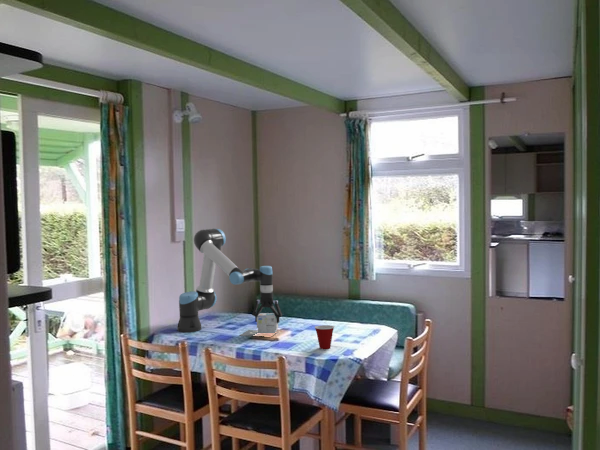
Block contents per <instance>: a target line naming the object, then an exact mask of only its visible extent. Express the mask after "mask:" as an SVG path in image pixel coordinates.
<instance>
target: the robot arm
mask: <svg viewBox="0 0 600 450" xmlns="http://www.w3.org/2000/svg"><path fill="white" fill-rule="evenodd" d="M226 240H227V239H226V233H225V232H224V231H223V230H222V229H220V228H207V229H200V230H198V231H196V232H195V235H194V236H193V243H194V246H195V247H196V249H197V250H198V251H199V252H200V253H201V254H203V259H202V266H201V272H200V280H199V285H198V286H197V287H196V290H195V291H193V290H191V291H185V292H182V293H181V294H180V295H179V297H178V306H179V307H178V308H179V319H178V323H177V326H176V328H177V332H180V333H193V332H198V331H201V330H202V323H201V321H200V318H199V312H200V311H203V310H204V311H205V310H208V309H211V308H213V307H214V306H215V305H216V302H217V300H218V298H217V297H218V296H217V295H216V292H215V289H214V281H215V273H216V266H218V267H219V268H220V269H221V270H222V271H223V272H224V273H225V274H226V275H227V276H229V277H228V278H229V282H230V283H231V284H232V285H236V286H237V285H241V284H245V283H250V282H251V283H252V282H259V286H260V287H259V288H260V289H259V290H260V295H259V296H260V299H256V300H255V305H254V308H253V311H252V314H251V315H252V317H253V316H254V317H255V319H254V320H255V323H256V328H257V329H258V315H259V314H260V313H262V311H263V309H264V308H268V309H270V310H271V311H272V313H274V314H275V316H276V318H275V329H277V330H278V328H279V323H280V318H281V317H283V313H282V310H281V308H280V307H281V306H280V304H279V300H278V299H277V300H274V292H273V291H274V286H273V284H274V283H273V278H274V277H273V273H274V272H273V267H272V266H271V265H262V266H259V269H258V268H252V267H251V268H245V269H244V270H242V269H241V268H239V267H238V266H237V265H236V264H235V262H233V261H232V260H231V259H230V258H229V257H228V256H227V255H225V254H224V252H222V251H221V250H222V249H221V248H222V247H223V246H224V245H225V244H226ZM259 305H260V306H259Z"/></svg>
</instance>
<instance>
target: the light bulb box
mask: <svg viewBox="0 0 600 450" xmlns="http://www.w3.org/2000/svg"><path fill="white" fill-rule="evenodd" d="M275 318H276V316H275V314H274V313H273V312H270V313H269V312H267V313H264V312H260V314H259V315H258V328H257V330H258V333H275V332H278V331H277V330H278V328H277V329H275Z"/></svg>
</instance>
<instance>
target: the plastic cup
mask: <svg viewBox="0 0 600 450" xmlns="http://www.w3.org/2000/svg"><path fill="white" fill-rule="evenodd" d="M314 329H315V331H316V336H317V342H318V346H319V349H320V350H330V349H331V346H332V340H333V332H334V329H335V326H334V325H331V324H330V325H328V324H326V325H323V324H322V325H316V326H314Z"/></svg>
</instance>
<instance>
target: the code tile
mask: <svg viewBox="0 0 600 450" xmlns="http://www.w3.org/2000/svg"><path fill="white" fill-rule="evenodd" d="M257 333H258V329H257V330H256V329H248V330H245V331H244V332H243V333H241V334H240V335H239V337H240V336H241V337H251V336H253V335H255V334H257Z"/></svg>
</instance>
